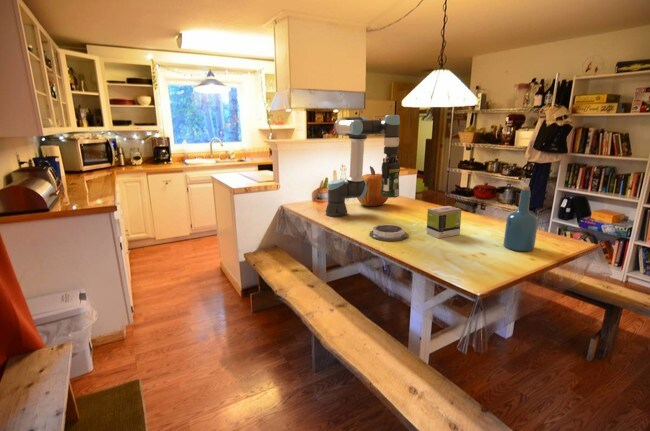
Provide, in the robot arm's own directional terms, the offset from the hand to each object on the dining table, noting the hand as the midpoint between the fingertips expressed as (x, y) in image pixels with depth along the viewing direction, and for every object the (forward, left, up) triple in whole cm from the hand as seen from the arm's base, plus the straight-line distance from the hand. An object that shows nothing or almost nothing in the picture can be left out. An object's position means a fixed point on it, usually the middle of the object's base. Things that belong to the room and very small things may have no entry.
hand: (390, 189), depth 180 cm
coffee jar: (0, 0, -4) cm, 4 cm away
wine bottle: (-17, +61, -26) cm, 68 cm away
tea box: (-18, +24, -26) cm, 40 cm away
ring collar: (0, 0, -26) cm, 26 cm away
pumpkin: (-60, -43, -26) cm, 78 cm away
